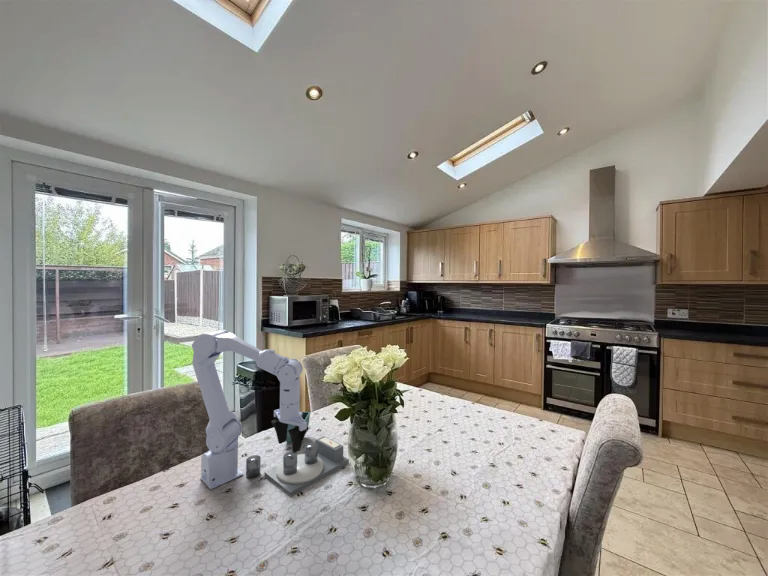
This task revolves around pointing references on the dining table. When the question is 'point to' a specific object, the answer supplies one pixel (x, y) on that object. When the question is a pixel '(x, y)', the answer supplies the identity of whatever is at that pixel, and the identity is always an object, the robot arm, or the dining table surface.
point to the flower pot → (305, 417)
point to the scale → (309, 467)
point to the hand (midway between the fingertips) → (289, 446)
